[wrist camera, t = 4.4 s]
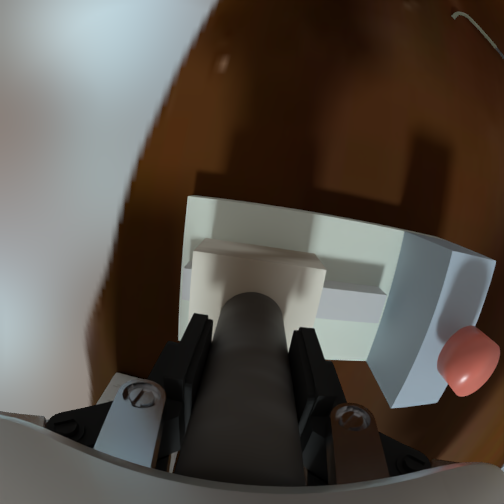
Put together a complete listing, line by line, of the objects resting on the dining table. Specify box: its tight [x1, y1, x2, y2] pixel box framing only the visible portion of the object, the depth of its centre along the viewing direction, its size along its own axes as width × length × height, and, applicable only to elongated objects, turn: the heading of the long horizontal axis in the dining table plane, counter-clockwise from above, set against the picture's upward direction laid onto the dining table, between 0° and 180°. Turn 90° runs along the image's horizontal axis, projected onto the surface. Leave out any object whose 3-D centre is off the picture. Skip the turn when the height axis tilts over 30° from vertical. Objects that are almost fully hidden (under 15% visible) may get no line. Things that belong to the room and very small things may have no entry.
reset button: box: [437, 325, 500, 397], centre depth 10 cm, size 3×3×2 cm
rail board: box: [178, 195, 496, 408], centre depth 16 cm, size 18×10×7 cm, turn 82°
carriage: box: [174, 238, 327, 487], centre depth 11 cm, size 6×6×14 cm
